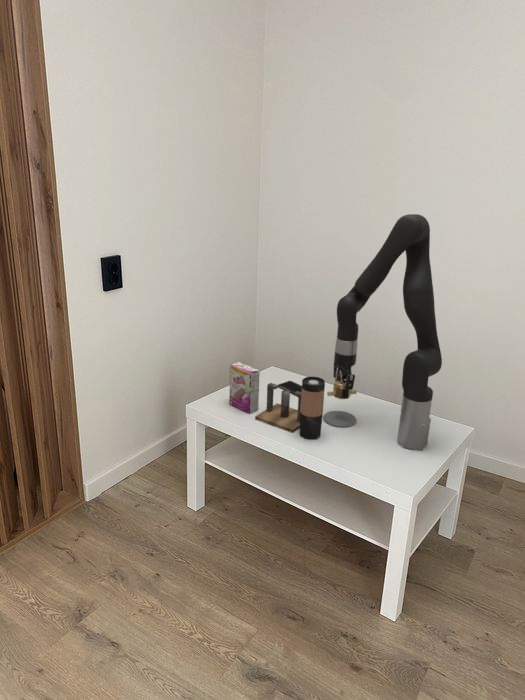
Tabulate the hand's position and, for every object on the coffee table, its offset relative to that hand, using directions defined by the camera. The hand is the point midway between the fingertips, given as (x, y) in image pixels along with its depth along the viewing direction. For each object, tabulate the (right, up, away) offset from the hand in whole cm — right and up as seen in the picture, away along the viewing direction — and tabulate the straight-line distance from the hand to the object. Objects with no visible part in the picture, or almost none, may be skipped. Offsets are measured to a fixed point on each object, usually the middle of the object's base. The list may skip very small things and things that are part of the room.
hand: (341, 394), depth 196 cm
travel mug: (-12, -13, -8) cm, 20 cm away
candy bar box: (-35, -6, +10) cm, 37 cm away
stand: (-20, -9, +2) cm, 22 cm away
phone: (-15, -1, +27) cm, 30 cm away
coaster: (0, -9, +3) cm, 10 cm away
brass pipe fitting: (0, 0, 0) cm, 0 cm away
